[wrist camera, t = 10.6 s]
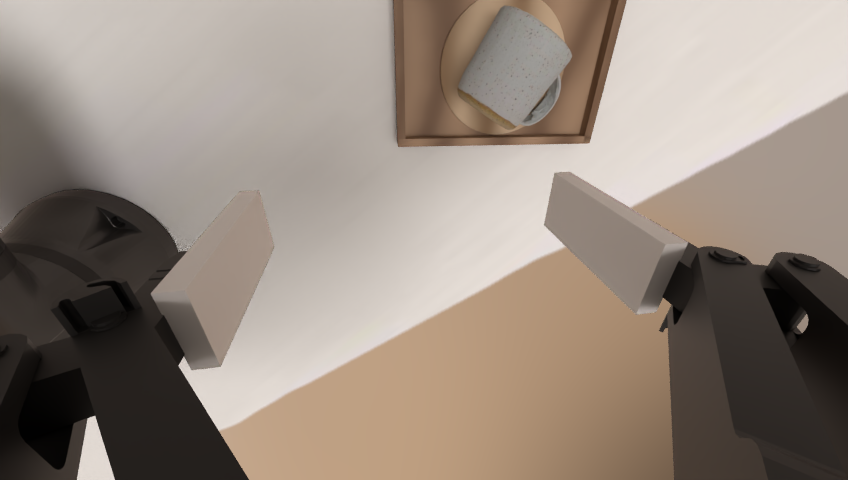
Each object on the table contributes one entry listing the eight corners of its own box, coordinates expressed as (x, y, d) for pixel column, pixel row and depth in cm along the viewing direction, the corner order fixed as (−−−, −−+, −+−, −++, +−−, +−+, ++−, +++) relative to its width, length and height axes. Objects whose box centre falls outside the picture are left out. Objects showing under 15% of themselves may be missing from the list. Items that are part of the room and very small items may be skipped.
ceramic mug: (445, 90, 34) (462, 101, 27) (491, 6, 31) (522, -3, 24) (522, 139, 38) (553, 160, 31) (570, 70, 35) (616, 76, 28)
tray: (397, 142, 37) (398, 146, 36) (390, -102, 27) (391, -113, 26) (580, 139, 40) (589, 143, 38) (635, -87, 30) (651, -95, 28)
